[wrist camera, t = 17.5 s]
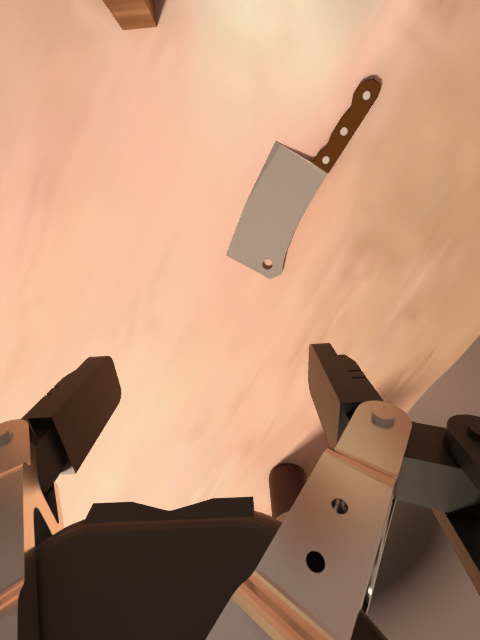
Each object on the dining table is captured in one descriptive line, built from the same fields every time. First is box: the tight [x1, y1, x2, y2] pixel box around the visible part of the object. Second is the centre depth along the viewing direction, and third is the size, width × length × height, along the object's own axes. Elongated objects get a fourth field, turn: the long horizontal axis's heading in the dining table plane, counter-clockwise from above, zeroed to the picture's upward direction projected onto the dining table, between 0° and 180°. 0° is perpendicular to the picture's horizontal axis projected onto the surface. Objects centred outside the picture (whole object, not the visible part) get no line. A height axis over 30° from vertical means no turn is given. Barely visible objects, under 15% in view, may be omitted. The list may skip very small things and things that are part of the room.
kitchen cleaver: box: [227, 79, 380, 279], centre depth 34 cm, size 24×1×10 cm
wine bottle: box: [269, 464, 307, 523], centre depth 40 cm, size 7×7×30 cm
